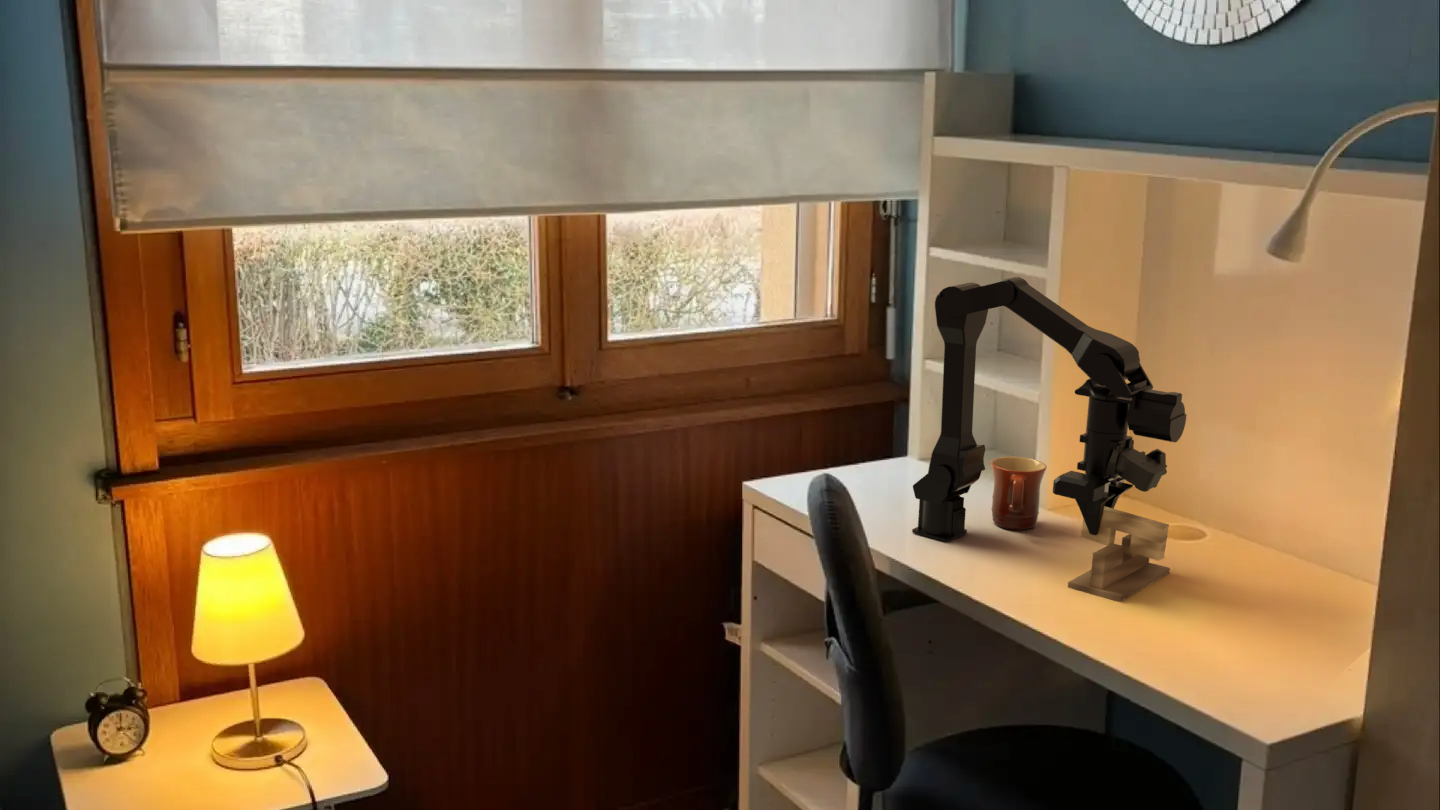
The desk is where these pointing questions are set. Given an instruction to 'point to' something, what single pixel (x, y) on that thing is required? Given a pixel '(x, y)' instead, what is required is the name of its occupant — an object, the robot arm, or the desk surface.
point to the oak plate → (1131, 532)
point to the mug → (1016, 492)
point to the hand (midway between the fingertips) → (1096, 532)
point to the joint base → (1118, 572)
